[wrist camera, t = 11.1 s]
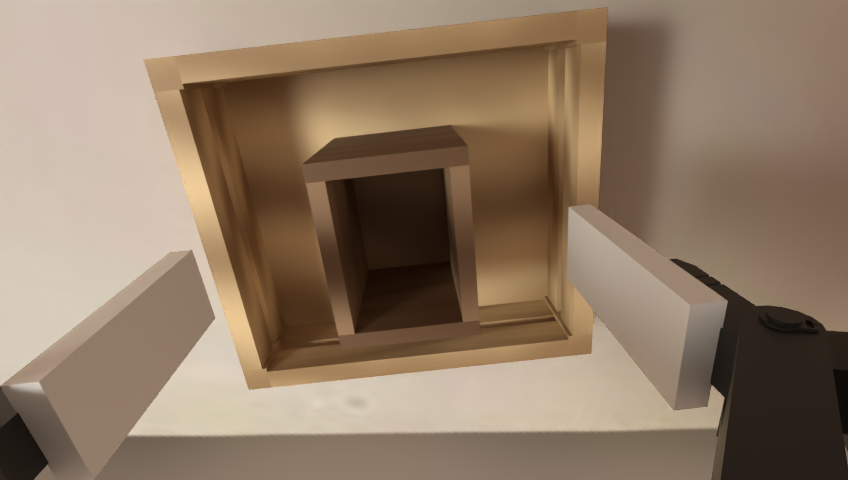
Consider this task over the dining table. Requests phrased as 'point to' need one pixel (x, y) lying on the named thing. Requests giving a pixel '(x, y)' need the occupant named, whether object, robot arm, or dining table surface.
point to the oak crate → (377, 113)
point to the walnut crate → (396, 235)
